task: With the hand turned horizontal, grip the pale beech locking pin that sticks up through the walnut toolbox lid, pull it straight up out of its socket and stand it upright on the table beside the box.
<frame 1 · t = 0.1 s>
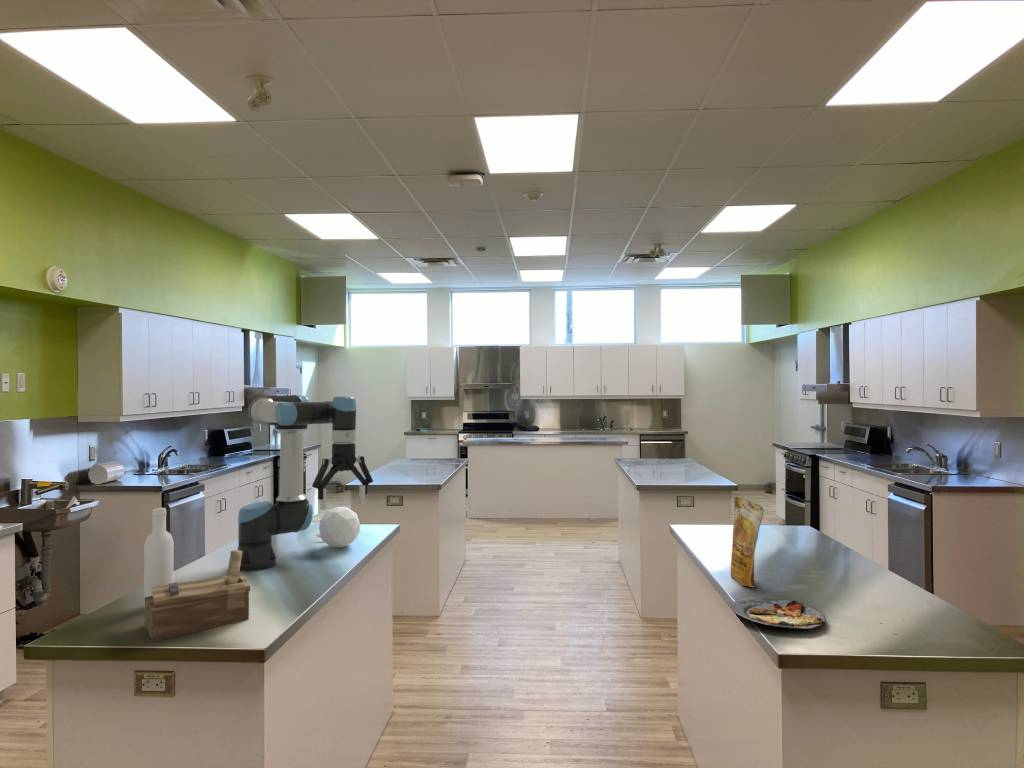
hand: (343, 506, 196), 28 cm above the countertop, fingers open, 13 cm apart
bottle: (158, 606, 182), on the countertop
pancake mix bag: (744, 581, 206), on the countertop
toolbox: (197, 622, 169), on the countertop
toolbox lid: (201, 591, 172), point 8 cm above the countertop, touching toolbox
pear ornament: (327, 544, 251), point 1 cm above the countertop
food plate: (778, 619, 172), on the countertop
locking pin: (229, 599, 175), point 5 cm above the countertop, tilted 8°
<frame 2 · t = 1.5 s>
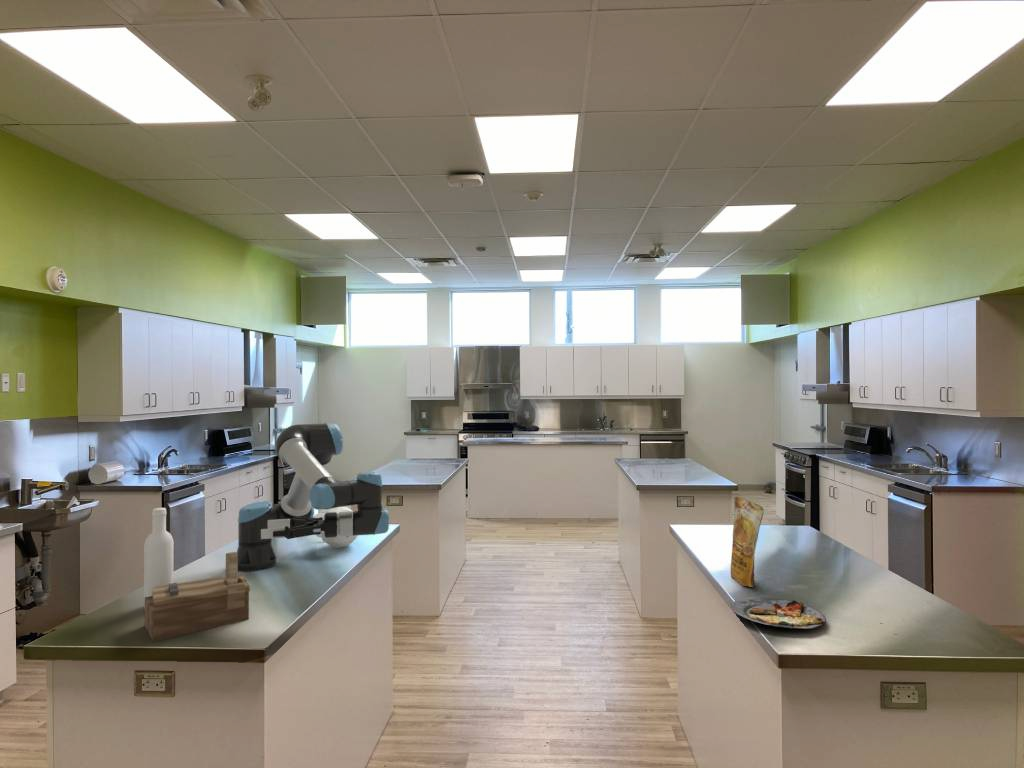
hand: (264, 529, 178), 25 cm above the countertop, fingers open, 13 cm apart
locking pin: (231, 600, 176), point 4 cm above the countertop, touching toolbox
everything else where it was.
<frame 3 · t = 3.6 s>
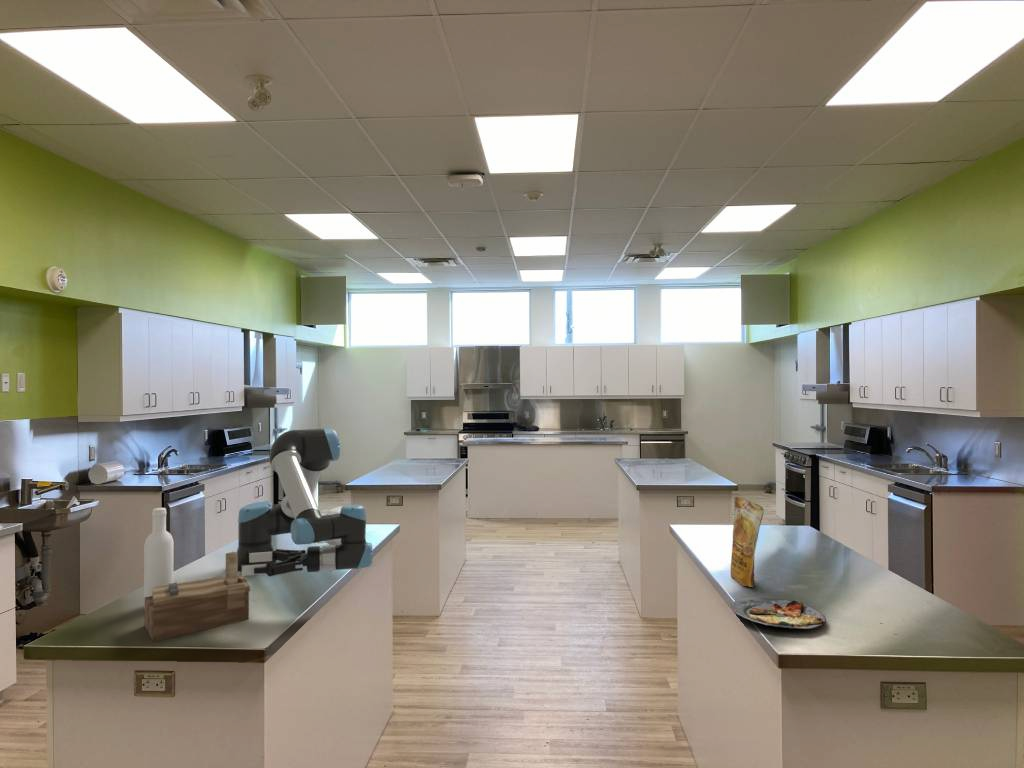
hand: (245, 564, 176), 15 cm above the countertop, fingers open, 13 cm apart
nothing on the countertop moved.
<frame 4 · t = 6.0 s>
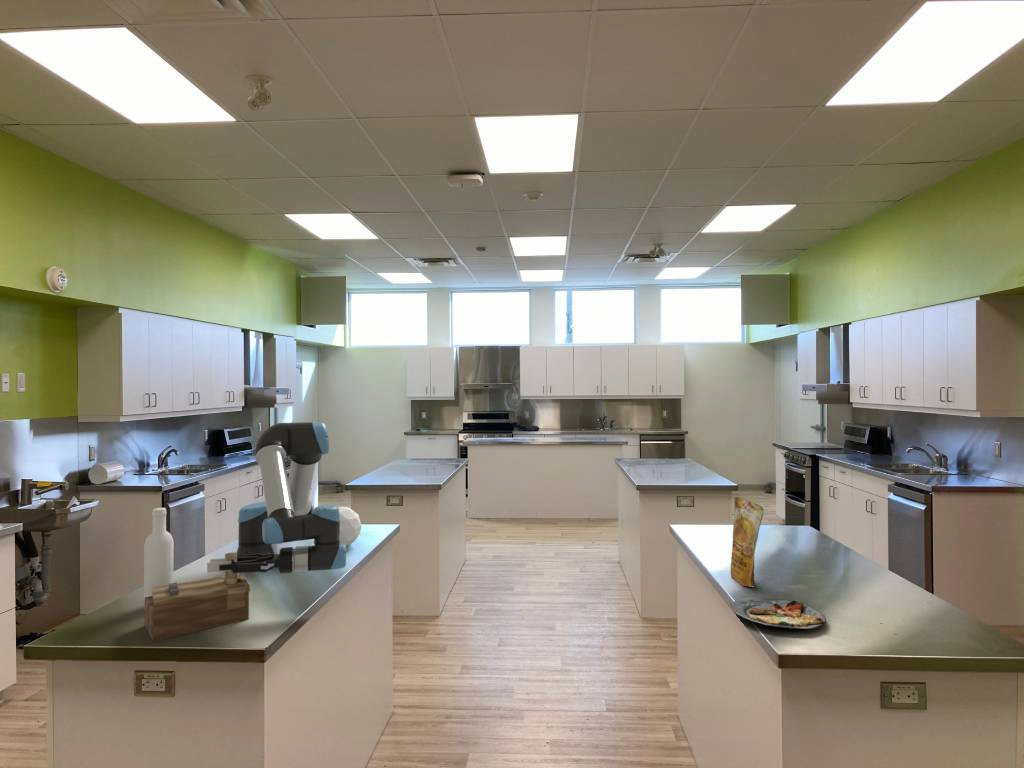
hand: (209, 565, 174), 15 cm above the countertop, fingers closed on locking pin, 3 cm apart
locking pin: (231, 600, 175), point 4 cm above the countertop, touching gripper, toolbox
everything else where it was.
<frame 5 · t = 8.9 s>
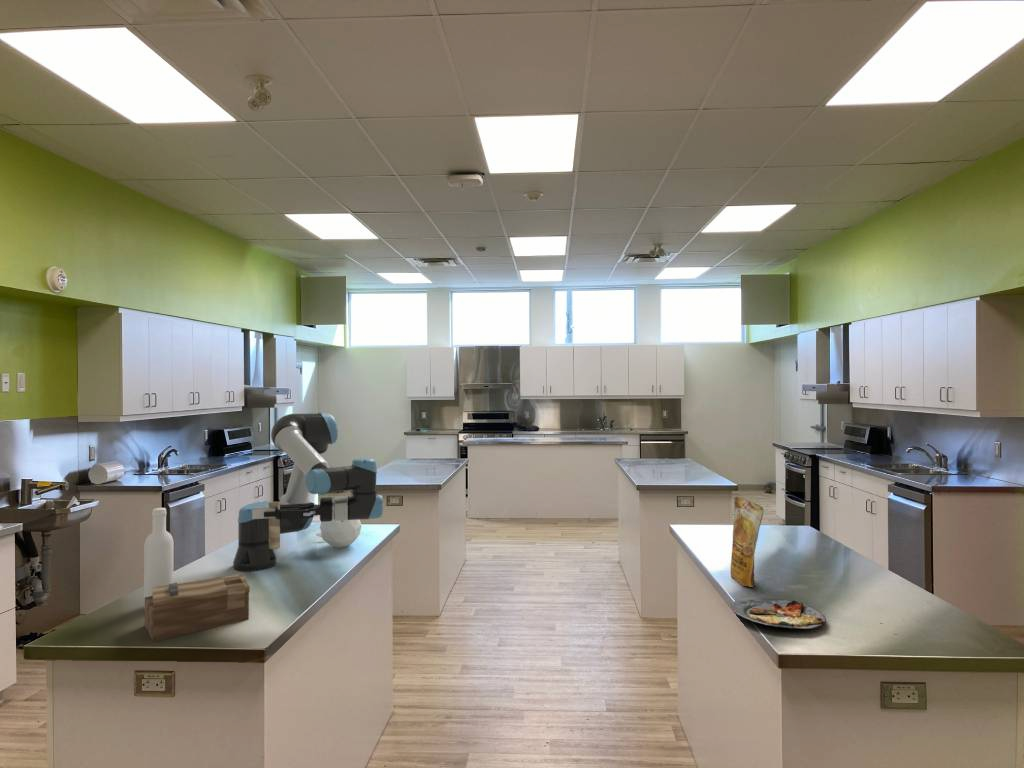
hand: (253, 513, 182), 29 cm above the countertop, fingers closed on locking pin, 3 cm apart
locking pin: (274, 547, 183), point 18 cm above the countertop, touching gripper
everything else where it was.
when the fingers open (12 cm above the countertop, at t = 12.0 s): locking pin drops 1 cm, on the countertop.
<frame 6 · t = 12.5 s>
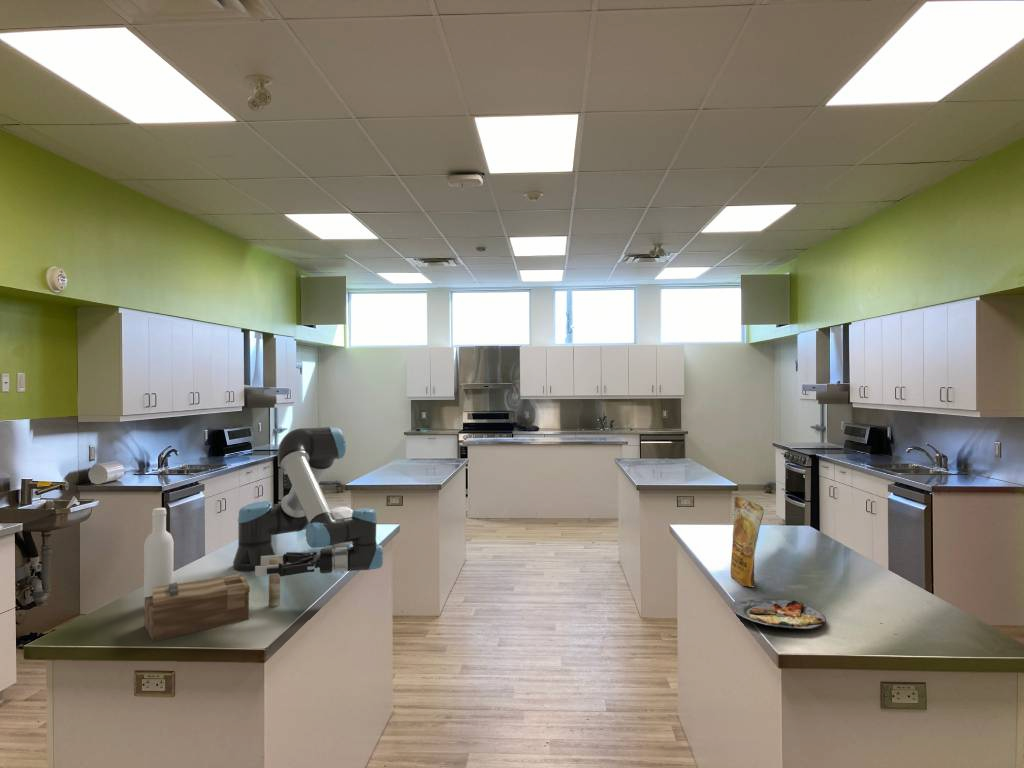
hand: (258, 565, 182), 12 cm above the countertop, fingers open, 10 cm apart
locking pin: (274, 605, 183), on the countertop
everything else where it was.
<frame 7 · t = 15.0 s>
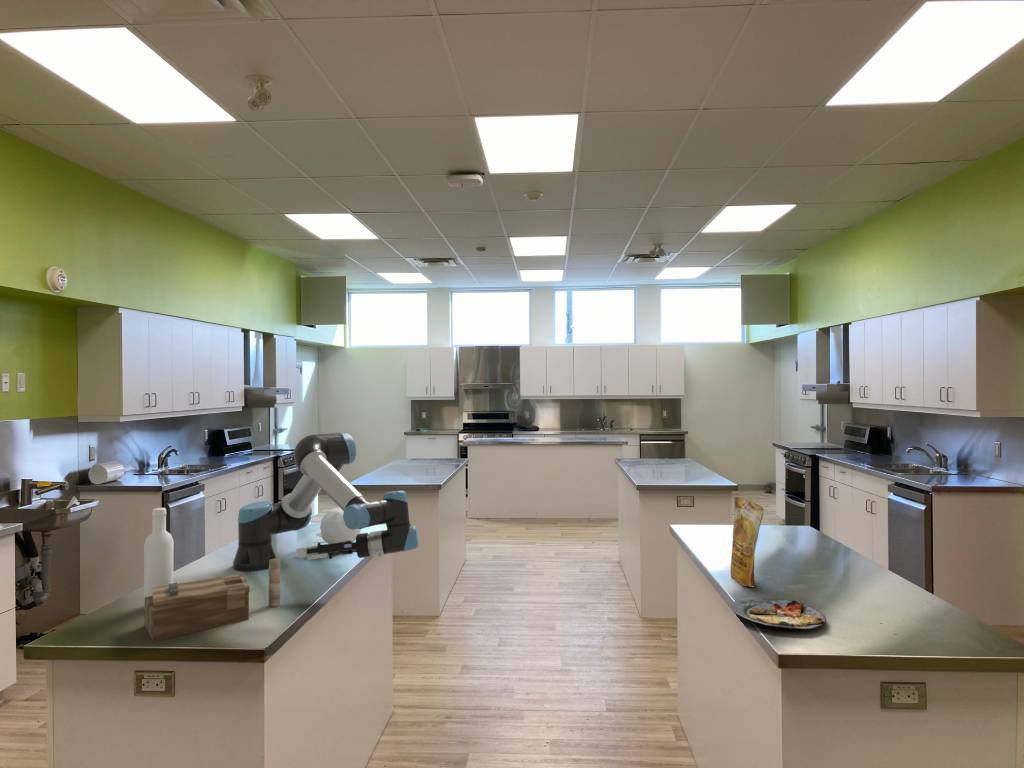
hand: (302, 554, 188), 14 cm above the countertop, fingers open, 13 cm apart
nothing on the countertop moved.
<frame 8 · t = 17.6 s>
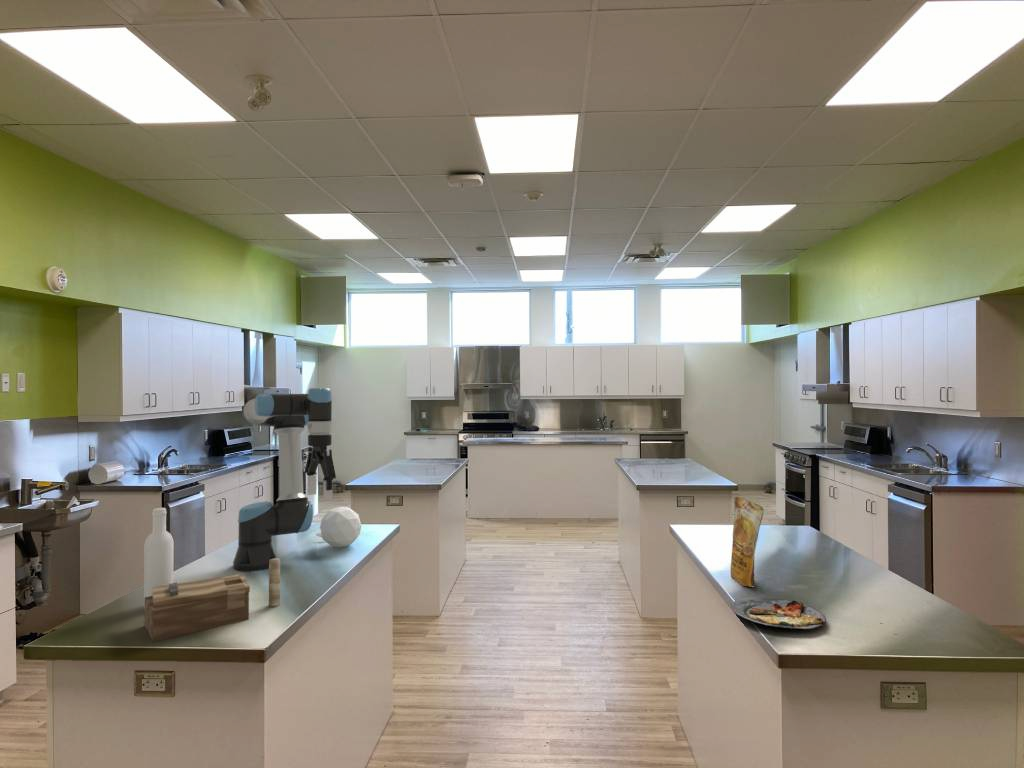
hand: (319, 497, 198), 31 cm above the countertop, fingers open, 13 cm apart
nothing on the countertop moved.
at the end: locking pin inside the target area (0.6 cm from its centre), on the countertop; locking pin tilted 0°; toolbox lid moved 1.8 cm from its start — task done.
